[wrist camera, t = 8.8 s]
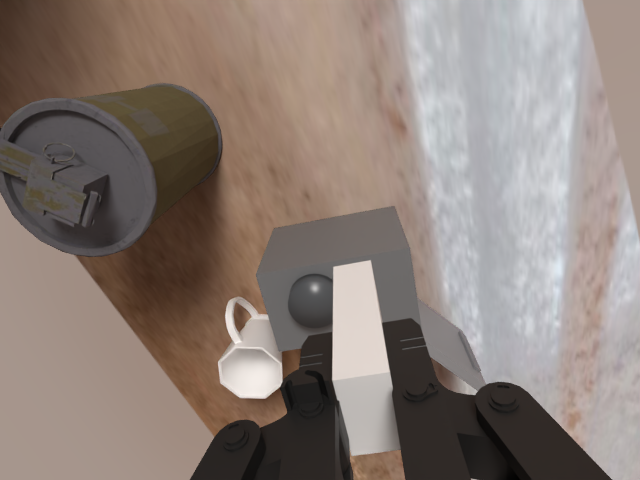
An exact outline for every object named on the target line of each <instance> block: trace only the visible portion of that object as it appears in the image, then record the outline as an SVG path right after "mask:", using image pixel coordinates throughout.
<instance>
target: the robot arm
mask: <svg viewBox="0 0 640 480" xmlns="http://www.w3.org/2000/svg"><path fill="white" fill-rule="evenodd" d="M300 357H301V359H300V364H299V365H300V367H299V370H296V371H294V372H292V373H291V374H289V375H288V376H287V377H286V378H285V379H284V380H283V381H282V384H281V386H280V390H281V393H282V396H283V399H284V402H285V405H286V408H287V414H286V415H285V416H283V417H282V418H281V419H279V420H277V421H275V422H273V423H271V424H268V425H266V426H263V427H261V428H259V426H258V425H257V424H256V423H255V422H254V421H250V420H238V421H235V422H233V423H230V424H228V425H227V426H225V427H224V428H223V429H221V430H220V431H219V432H218V434H217V435H216V436H215V437H214V439H213V441H212V442H211V444H210V446H209V448H208V449H207V451H206V453H205V455H204V456H203V458H202V460H201V461H200V463H199V465H198V467H197V468H196V470H195V472H194V474H193V476H192V477H191V479H190V480H353V471H352V467H351V463H350V452H349V447H350V451H351V455H352V456H355V455H363V454H371V453H378V452H386V451H394V450H401V454H402V461H403V467H404V473H405V479H406V480H471V478H472V479H477V480H612V479H611V478H610V477H609V476H608V475H607V474H606V473H605V472H604V471H603V470H602V469H601V468H600V467H599V466H598V465H597V464H596V463H595V462H594V461H593V459H592V458H591V457H590V456H589V455H588V454H587V453H586V452H585V451H584V450H583V449H582V448H581V447H580V446H579V445H578V444H577V443H576V442H575V441H574V440H573V439H572V438H571V437H570V436H569V435H568V433H567V432H566V431H565V430H564V429H563V428H562V427H561V426H560V425H559V424H558V423H557V422H556V421H555V420H554V419H553V418H552V417H551V416H550V415H549V414H548V413H547V412H546V411H545V410H544V409H543V407H542V406H541V405H540V404H539V403H538V402H537V401H536V400H535V399H534V398H533V397H532V396H531V395H530V394H529V393H528V392H527V391H525V390H524V389H523V388H521V387H520V386H517V385H514V384H511V383H505V382H495V383H489V384H487V385H485V386H483V387H481V388H480V389H479V391H478V392H477V393H476V395H467V394H460V393H456V392H453V391H450V390H448V389H447V388H445V387H444V386H442V385H441V384H440V382H439V381H438V379H437V377H436V375H435V371H434V368H433V365H432V362H431V358H430V355H429V352H428V349H427V346H426V342H425V339H424V336H423V333H422V329H421V326H420V325H419V324H418V323H417V322H415V321H414V320H413V319H412V318H408V319H401V320H395V321H389V322H382V316H381V311H380V306H379V301H378V295H377V290H376V285H375V280H374V274H373V269H372V264H371V260H369V261H363V262H357V263H352V264H346V265H341V266H335V267H333V332H328V333H322V334H316V335H310V336H308V337H307V339H306V340H305V342H304V343H303V345H302V347H301V356H300Z"/></svg>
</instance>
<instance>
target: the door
mask: <svg viewBox="0 0 640 480" xmlns="http://www.w3.org/2000/svg"><path fill="white" fill-rule="evenodd" d="M417 300H418V307H419V314H420V320H421V327H422V333H423V336H424V339H425V342H426V346H427V349H428V352H429V355H430V357H431V358H433V359H434V360H435V361H437V362H438V363H440V364H441V365H442V366H444V367H445V368H447V369H448V370H449V371H451V372H452V373H454V374H455V375H456V376H458V377H459V378H460V379H462V380H463V381H465V382H466V383H467V384H469V385H470V386H472V387H473V388H474V389H476V390H477V391H479V389H480V388H481V387H483V386H485V385H486V383H485V381H484V379H483V376H482V374H481V372H480V371H481V369H480V367H479V365H478V363H477V361H476V358H475V356H474V354H473V352H472V349H471V347H470V345H469V343H468V341H467V338H466V336H465V335H464V334H463V332H462V331H461V330H460V329H459V328H457V327H456V326H455V325H453V324H452V323H451V322H449V321H448V320H447V319H445V318H444V317H443V316H441V315H440V314H439V313H437V312H436V311H435V310H433V309H432V308H431V307H429V306H428V305H427V304H425V303H424V302H423V301H421V300H420V299H419V298H417Z"/></svg>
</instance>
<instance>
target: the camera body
mask: <svg viewBox="0 0 640 480" xmlns="http://www.w3.org/2000/svg"><path fill="white" fill-rule="evenodd" d="M369 260H371V264H372V269H373V274H374V280H375V285H376V290H377V295H378V301H379V306H380V311H381V316H382V322H389V321H395V320H401V319H408V318H412V319H413V320H414V321H415V322H417V323H418V324H419V325H420V326H421V320H420V314H419V307H418V300H417V293H416V287H415V280H414V273H413V266H412V260H411V253H410V247H409V244H408V242H407V239H406V236H405V234H404V231H403V228H402V225H401V223H400V220H399V217H398V215H397V212H396V209H395V206H392V207H386V208H381V209H376V210H370V211H365V212H359V213H354V214H349V215H343V216H338V217H333V218H327V219H322V220H316V221H311V222H306V223H300V224H295V225H290V226H284V227H279V228H274V230H273V232H272V235H271V237H270V240H269V242H268V245H267V247H266V250H265V252H264V255H263V258H262V260H261V263H260V265H259V268H258V270H257V273H256V277H257V280H258V284H259V287H260V290H261V294H262V297H263V301H264V304H265V307H266V311H267V314H268V317H269V321H270V324H271V328H272V331H273V334H274V338H275V341H276V344H277V348H278V351H279V352H281V351H288V350H294V349H301V347H302V345H303V343H304V342H305V340H306V339H307V337H308V336H310V335H316V334H322V333H328V332H333V267H335V266H341V265H346V264H352V263H357V262H363V261H369ZM421 329H422V327H421Z"/></svg>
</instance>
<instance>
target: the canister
mask: <svg viewBox="0 0 640 480" xmlns="http://www.w3.org/2000/svg"><path fill="white" fill-rule="evenodd" d="M221 150H222V141H221V131H220V127H219V125H218V122H217V119H216V117H215V116H214V114H213V113H212V111H211V109H210V108H209V106H208V105H207V104H206V103H205V102H204V101H203V100H202V99H201V98H200V97H198V96H197V95H196V94H194V93H193V92H191V91H189V90H187V89H185V88H183V87H181V86H177V85H173V84H165V83H163V84H153V85H149V86H146V87H144V88H141V89H135V90H128V91H121V92H115V93H108V94H101V95H94V96H87V97H81V98H74V99H68V98H47V99H43V100H39V101H35V102H31V103H29V104H28V105H26V106H24V107H22V108H20V109H19V110H17V111H16V112H14V113H13V114H12V115H11V117H10V118H9V119H8V120H7V121H6V122H5V124H4V125H3V127H2V128H0V193H1V195H2V196H3V198H4V200H5V202H6V204H7V206H8V207H9V209H10V211H11V213H12V215H13V216H14V217H15V218H16V219H17V220H18V221H19V222H20V223H21V225H23V226H24V227H25V228H26V229H27V230H28V231H29V232H31V233H32V234H33V235H34V236H35V237H36V238H38V239H39V240H40V241H42V242H44V243H46V244H48V245H50V246H52V247H54V248H56V249H58V250H60V251H62V252H66V253H69V254H74V255H80V256H86V257H99V256H106V255H110V254H113V253H117V252H120V251H122V250H124V249H126V248H128V247H130V246H131V245H132V244H134V243H135V242H136V241H138V240H139V239H140V238H141V236H142V235H143V234H144V233H145V232H146V230H147V229H148V227H149V226H150V225H151V224H152V223H153V222H154V221H155V220H157V219H158V218H159V217H160V216H161V215H162V214H163V213H165V212H166V211H167V210H168V209H169V208H170V207H171V206H173V205H174V204H175V203H176V202H177V201H178V200H179V199H181V198H182V197H183V196H184V195H185V194H186V193H188V192H189V191H190V190H191V189H192V188H193V187H194V186H196V185H198V184H200V183H202V182H203V181H204V180H206V179H207V178H208V177H209V176H210V175H211V174H212V173H213V171H214V170H215V168H216V166H217V164H218V161H219V159H220V154H221Z"/></svg>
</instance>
